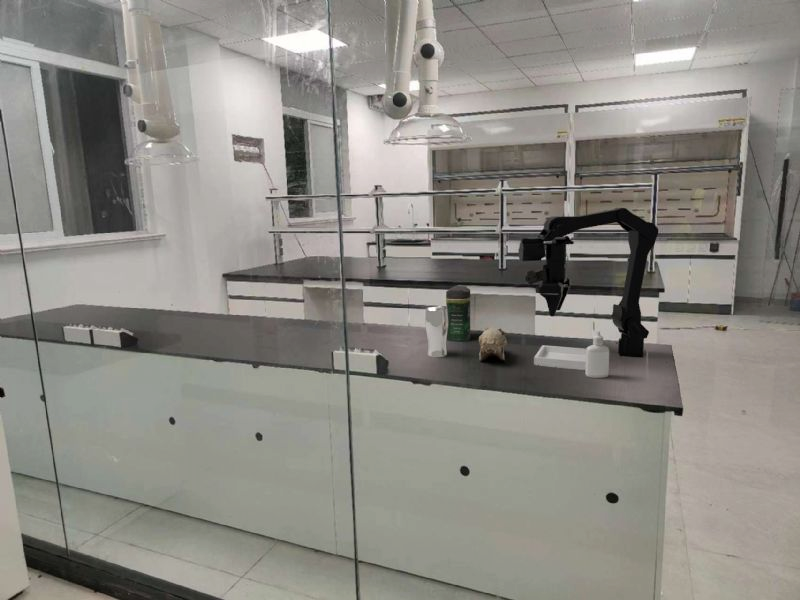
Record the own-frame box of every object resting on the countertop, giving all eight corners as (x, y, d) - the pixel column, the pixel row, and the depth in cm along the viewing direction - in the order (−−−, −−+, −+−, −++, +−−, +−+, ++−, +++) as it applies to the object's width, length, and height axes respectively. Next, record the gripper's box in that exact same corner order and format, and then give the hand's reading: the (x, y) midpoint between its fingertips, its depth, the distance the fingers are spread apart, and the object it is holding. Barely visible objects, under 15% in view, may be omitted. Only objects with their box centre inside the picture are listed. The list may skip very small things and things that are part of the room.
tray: (590, 356, 160) (590, 348, 159) (586, 370, 147) (586, 361, 147) (542, 352, 165) (542, 345, 165) (533, 365, 153) (534, 357, 152)
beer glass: (451, 354, 167) (450, 306, 164) (445, 360, 160) (444, 310, 158) (429, 353, 169) (428, 305, 166) (423, 359, 162) (422, 310, 160)
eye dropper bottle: (606, 379, 139) (608, 334, 137) (584, 377, 142) (585, 332, 140) (609, 375, 143) (611, 330, 140) (587, 372, 145) (588, 328, 143)
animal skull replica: (510, 352, 167) (510, 321, 165) (504, 368, 151) (504, 333, 149) (484, 351, 169) (484, 320, 167) (475, 367, 153) (475, 332, 152)
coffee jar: (467, 344, 178) (467, 288, 174) (444, 343, 180) (443, 288, 177) (472, 337, 187) (472, 284, 184) (450, 336, 189) (449, 284, 186)
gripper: (534, 256, 168) (534, 306, 171) (520, 263, 152) (520, 318, 154) (571, 257, 163) (571, 307, 166) (561, 264, 147) (560, 320, 149)
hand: (555, 313), depth 159 cm, fingers open, 9 cm apart
